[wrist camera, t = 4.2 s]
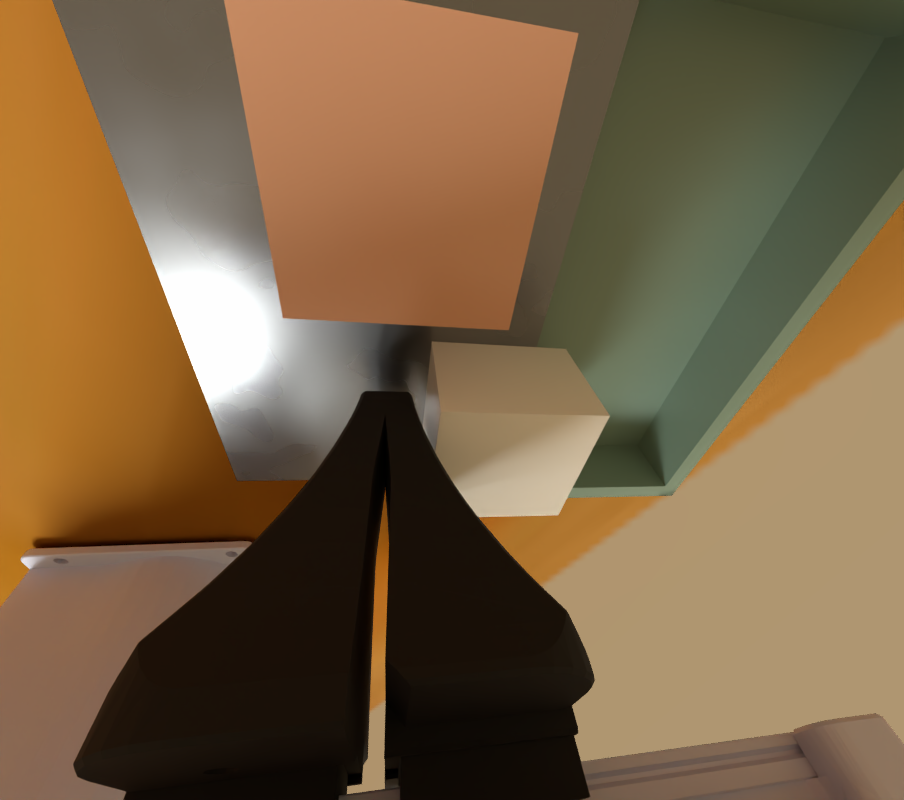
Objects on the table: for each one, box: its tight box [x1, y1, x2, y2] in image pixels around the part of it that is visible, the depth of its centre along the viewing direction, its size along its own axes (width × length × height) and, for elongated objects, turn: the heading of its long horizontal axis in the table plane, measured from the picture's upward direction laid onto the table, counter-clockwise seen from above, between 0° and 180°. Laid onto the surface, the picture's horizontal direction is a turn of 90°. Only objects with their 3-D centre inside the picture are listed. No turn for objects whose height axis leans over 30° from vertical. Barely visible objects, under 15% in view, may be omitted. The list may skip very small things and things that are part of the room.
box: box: [537, 0, 904, 498], centre depth 11 cm, size 7×14×2 cm, turn 173°
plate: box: [52, 0, 639, 481], centre depth 10 cm, size 10×14×2 cm
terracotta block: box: [224, 0, 579, 330], centre depth 7 cm, size 4×4×3 cm
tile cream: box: [423, 341, 610, 517], centre depth 11 cm, size 4×4×3 cm
